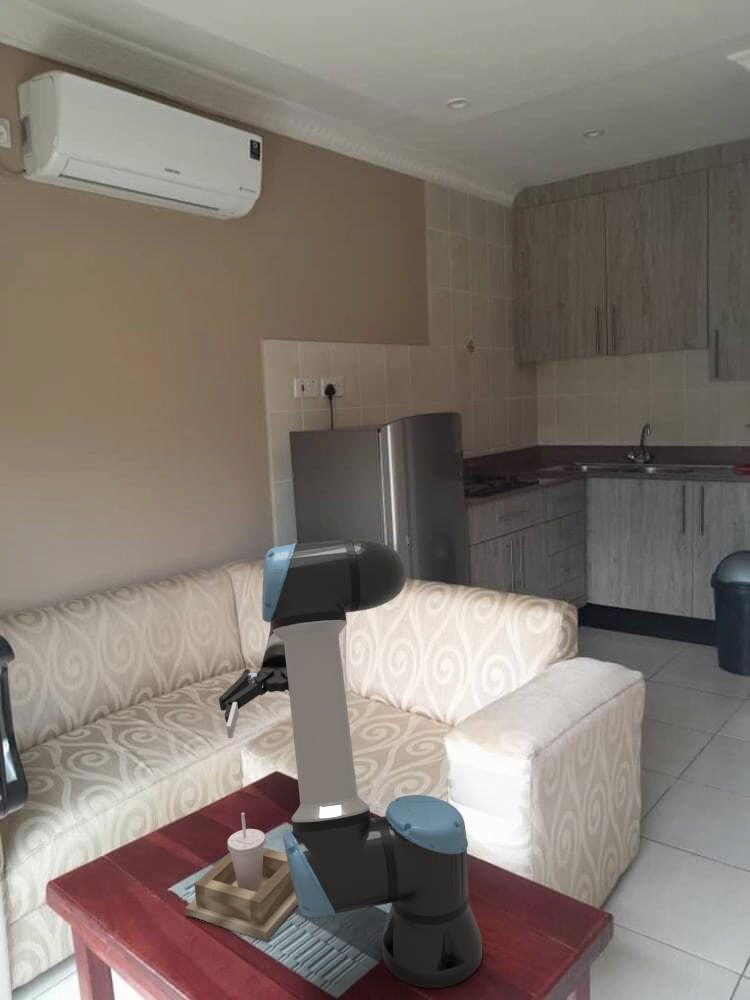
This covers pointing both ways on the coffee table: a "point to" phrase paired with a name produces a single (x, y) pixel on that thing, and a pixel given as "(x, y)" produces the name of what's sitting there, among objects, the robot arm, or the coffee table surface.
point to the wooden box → (246, 897)
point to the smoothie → (247, 856)
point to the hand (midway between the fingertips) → (267, 731)
